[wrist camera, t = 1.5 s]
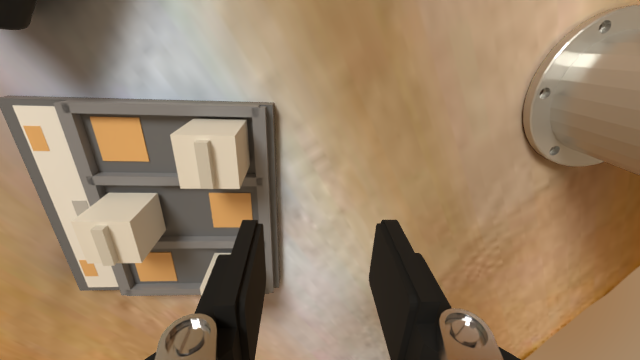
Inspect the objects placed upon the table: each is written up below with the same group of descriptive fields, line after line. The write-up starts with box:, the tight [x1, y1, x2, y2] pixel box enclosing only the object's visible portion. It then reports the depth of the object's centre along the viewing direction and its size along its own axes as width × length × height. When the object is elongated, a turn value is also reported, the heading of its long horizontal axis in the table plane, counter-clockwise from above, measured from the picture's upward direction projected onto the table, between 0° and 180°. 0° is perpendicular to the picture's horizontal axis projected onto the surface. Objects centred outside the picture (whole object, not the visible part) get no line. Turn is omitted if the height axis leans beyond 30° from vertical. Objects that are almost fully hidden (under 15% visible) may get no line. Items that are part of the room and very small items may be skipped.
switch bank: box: [0, 96, 280, 296], centre depth 26 cm, size 20×19×2 cm
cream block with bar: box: [170, 118, 250, 189], centre depth 21 cm, size 4×4×5 cm
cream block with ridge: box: [71, 193, 166, 266], centre depth 23 cm, size 4×4×5 cm
